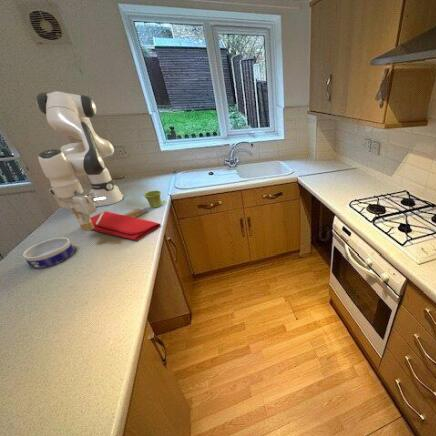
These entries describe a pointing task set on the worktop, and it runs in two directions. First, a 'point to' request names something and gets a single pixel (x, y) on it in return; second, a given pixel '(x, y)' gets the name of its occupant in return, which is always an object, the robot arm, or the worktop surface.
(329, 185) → the worktop surface
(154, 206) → the plant pot
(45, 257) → the dog bowl
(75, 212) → the sprinkles bottle
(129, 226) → the dish drying mat
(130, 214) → the coaster
